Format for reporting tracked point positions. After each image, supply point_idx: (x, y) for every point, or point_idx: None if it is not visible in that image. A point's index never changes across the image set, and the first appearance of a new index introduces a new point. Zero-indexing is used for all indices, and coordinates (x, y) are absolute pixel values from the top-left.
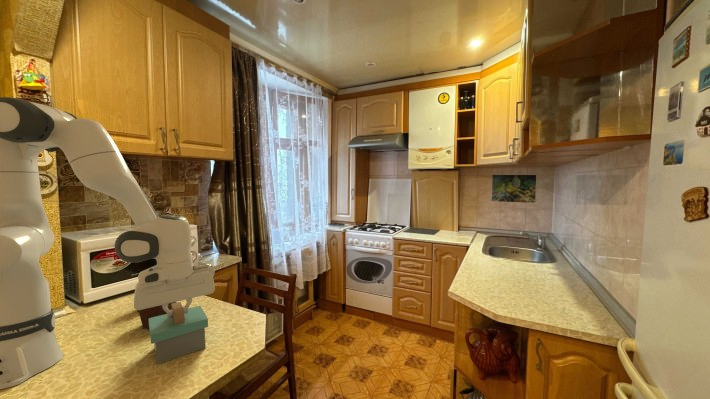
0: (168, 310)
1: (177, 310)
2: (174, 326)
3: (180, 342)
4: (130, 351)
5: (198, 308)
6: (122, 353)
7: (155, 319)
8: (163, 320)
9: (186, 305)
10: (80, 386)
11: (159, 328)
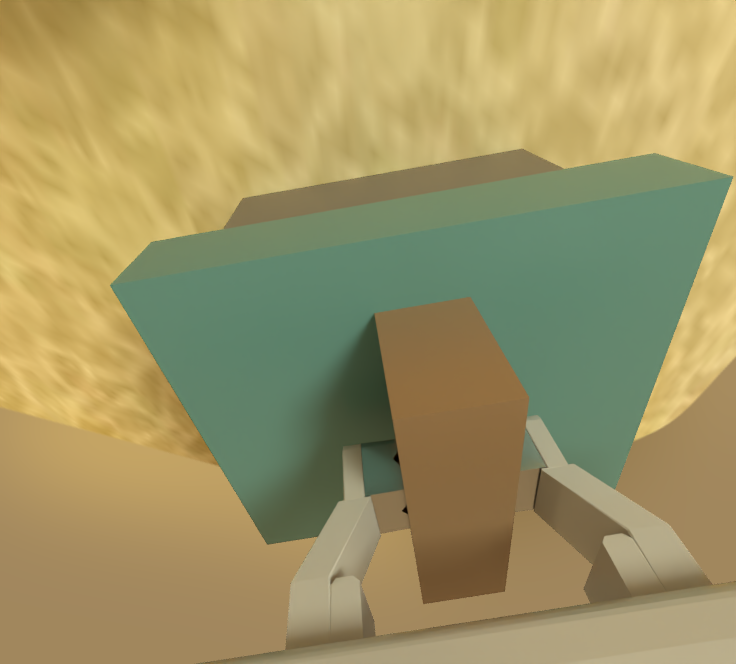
0: (369, 560)
1: (452, 579)
2: None
3: None
4: (79, 155)
5: (663, 273)
6: (29, 156)
7: (215, 346)
8: (306, 400)
9: (557, 514)
10: (21, 389)
11: (304, 501)
